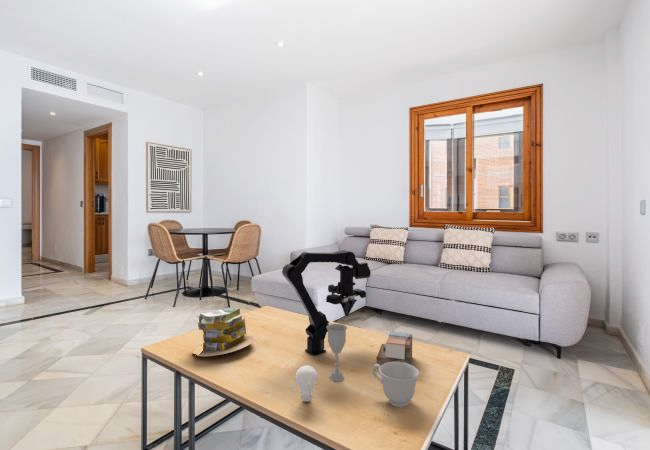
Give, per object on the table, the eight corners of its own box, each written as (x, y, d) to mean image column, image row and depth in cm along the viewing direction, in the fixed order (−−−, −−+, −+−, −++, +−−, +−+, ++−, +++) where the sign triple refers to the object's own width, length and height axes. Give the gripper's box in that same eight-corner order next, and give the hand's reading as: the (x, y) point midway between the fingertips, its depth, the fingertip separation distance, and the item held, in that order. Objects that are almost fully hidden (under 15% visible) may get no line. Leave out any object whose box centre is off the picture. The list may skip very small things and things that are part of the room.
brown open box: (376, 367, 127) (376, 342, 127) (381, 353, 139) (382, 330, 139) (409, 372, 123) (410, 346, 123) (412, 357, 136) (412, 333, 135)
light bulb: (295, 396, 108) (295, 362, 107) (316, 395, 108) (316, 361, 108) (295, 408, 101) (295, 372, 101) (317, 407, 102) (317, 371, 101)
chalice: (349, 374, 121) (349, 325, 121) (344, 384, 115) (344, 331, 114) (329, 371, 124) (329, 322, 123) (323, 380, 117) (323, 329, 117)
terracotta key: (385, 356, 126) (385, 342, 126) (387, 352, 130) (387, 337, 130) (404, 359, 124) (404, 344, 124) (405, 354, 128) (405, 340, 128)
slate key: (388, 348, 134) (388, 334, 133) (389, 344, 138) (389, 330, 138) (406, 350, 132) (406, 336, 131) (407, 346, 136) (407, 332, 136)
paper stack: (180, 352, 141) (179, 312, 140) (227, 334, 161) (227, 299, 160) (219, 368, 127) (218, 324, 126) (266, 345, 148) (265, 307, 147)
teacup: (380, 385, 114) (380, 355, 114) (424, 399, 106) (424, 367, 105) (363, 401, 104) (363, 369, 104) (410, 418, 96) (410, 384, 95)
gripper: (349, 274, 158) (349, 307, 159) (317, 280, 146) (318, 315, 147) (366, 278, 150) (366, 313, 150) (335, 284, 138) (335, 322, 138)
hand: (346, 316), depth 147 cm, fingers closed
